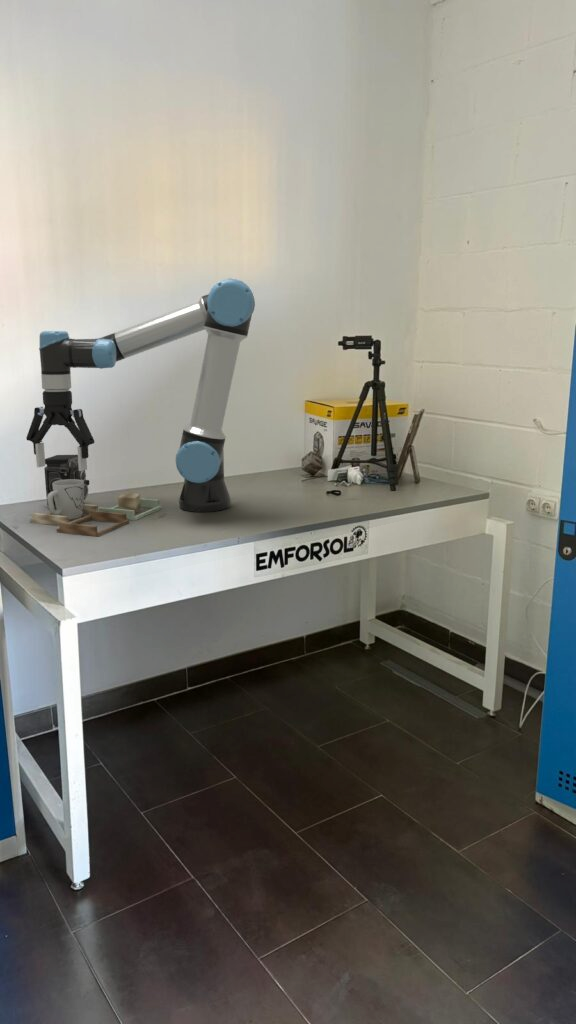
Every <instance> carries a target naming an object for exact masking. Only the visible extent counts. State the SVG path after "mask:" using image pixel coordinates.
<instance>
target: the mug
mask: <svg viewBox="0 0 576 1024" xmlns="http://www.w3.org/2000/svg"><path fill="white" fill-rule="evenodd" d="M52 486H53V491H52V492H50V493H49V494H48V496H47V497H46V503H47V502H48V505H49V506H48V505H47V506H48V508H49V513H51V514H52V515H58V516H68V519H69V521H70V520H72V521H73V520H77V519H79V518H82V517H83V514H84V513H83V504H85V503H84V502H85V500H84V481H83V480H78V479H66V480H59V481H55V482H53V483H52ZM53 496H54V499H55V504H56V507H54V504H53ZM55 508H56V509H55ZM56 510H57V511H56ZM55 511H56V512H55Z"/></svg>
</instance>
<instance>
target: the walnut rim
mask: <svg viewBox="0 0 576 1024" xmlns="http://www.w3.org/2000/svg"><path fill="white" fill-rule="evenodd" d="M89 515H90V516H89V517H87V518H84V519H81V520H79V521H76V522H74V523H62V522H61V523H59V525H58V528H57V529H56V532H57V533H61V534H71V535H79V534H80V535H81V536H88V535H89V537H101V536H103V535H106V534H107V533H110V532H112V531H114V530H117V529H119V528H121V527H123V526H126V525H128V524H130V519H126V514H123V513H112V512H101V511H99V510H98V511H90V514H89ZM90 521H96V522H97V521H98V522H107V523H114V525H112V526H109V527H107V528H104V529H102V530H99V531H98V525H91V524H84V523H87V522H90ZM115 523H116V524H115Z"/></svg>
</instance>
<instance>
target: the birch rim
mask: <svg viewBox="0 0 576 1024" xmlns="http://www.w3.org/2000/svg"><path fill="white" fill-rule="evenodd" d="M56 511H57V509H55V512H56ZM90 511H99V507H98V505H97V504H86V503H84V504H83V513H82V514H87V515H85V516H82V517H81V518H78V519H73V520H72V521H70V520H69V519H68V516H58V515H52V514H51V513H50V512H48V513H37V512H33V513H32V518H31V519H30V523H31V524H41V525H43V524H44V525H50V526H51V525H52V526H59V523H61V522H62V523H74V522H76V521H79V520H81V519H84V518H87V517H89V516H90ZM69 521H70V522H69Z"/></svg>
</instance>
